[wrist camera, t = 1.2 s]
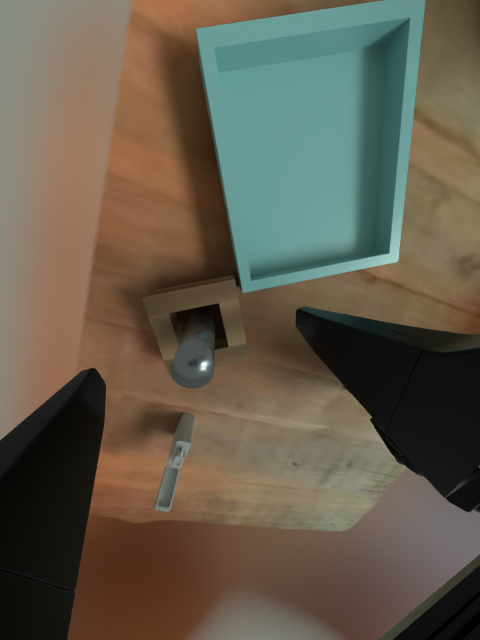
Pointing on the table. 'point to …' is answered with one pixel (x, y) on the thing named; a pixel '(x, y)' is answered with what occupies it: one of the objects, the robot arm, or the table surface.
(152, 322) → the pin holder
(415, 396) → the robot arm
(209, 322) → the pin
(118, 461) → the table surface
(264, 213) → the tray
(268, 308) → the table surface
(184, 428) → the lighter
